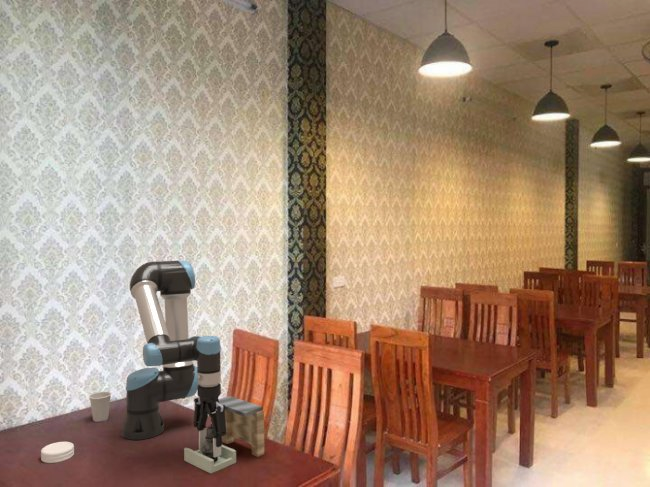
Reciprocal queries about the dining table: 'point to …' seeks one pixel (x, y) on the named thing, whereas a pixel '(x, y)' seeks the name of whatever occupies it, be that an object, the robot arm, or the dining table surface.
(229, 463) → the pale green tray
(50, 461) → the coaster
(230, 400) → the checkered stool block
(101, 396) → the dixie cup
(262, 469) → the dining table surface
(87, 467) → the dining table surface
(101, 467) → the dining table surface
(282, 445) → the dining table surface
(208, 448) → the dark grey tall piece
